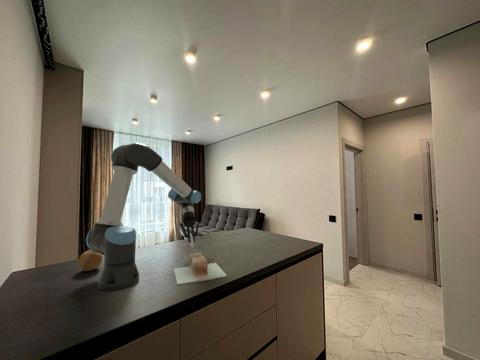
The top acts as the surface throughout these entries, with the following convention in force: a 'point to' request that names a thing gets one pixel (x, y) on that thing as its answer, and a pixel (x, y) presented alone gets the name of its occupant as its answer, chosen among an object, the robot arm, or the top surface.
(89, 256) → the onion
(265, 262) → the top surface
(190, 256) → the wood block
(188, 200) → the robot arm
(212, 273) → the rubber mat
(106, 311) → the top surface
